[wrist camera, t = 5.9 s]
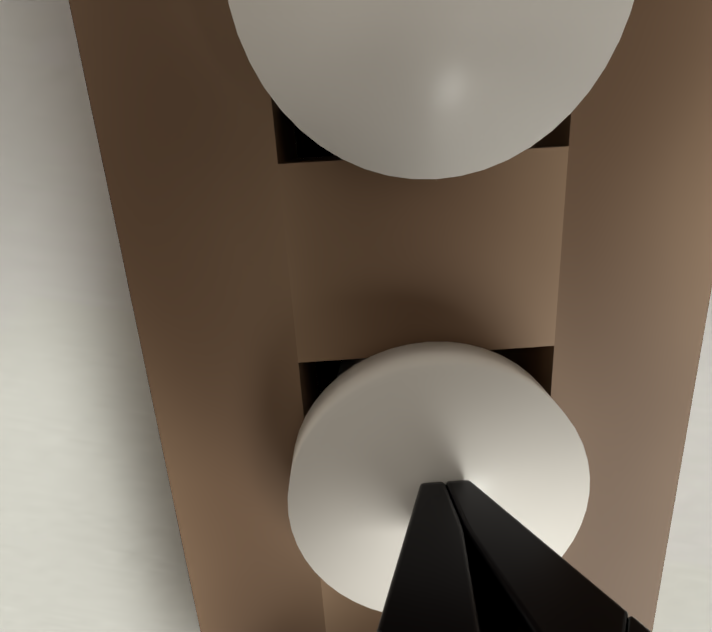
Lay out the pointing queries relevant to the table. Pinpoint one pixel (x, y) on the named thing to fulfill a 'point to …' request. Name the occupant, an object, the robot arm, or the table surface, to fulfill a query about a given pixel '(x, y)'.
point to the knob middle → (426, 457)
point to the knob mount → (400, 285)
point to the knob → (428, 74)
